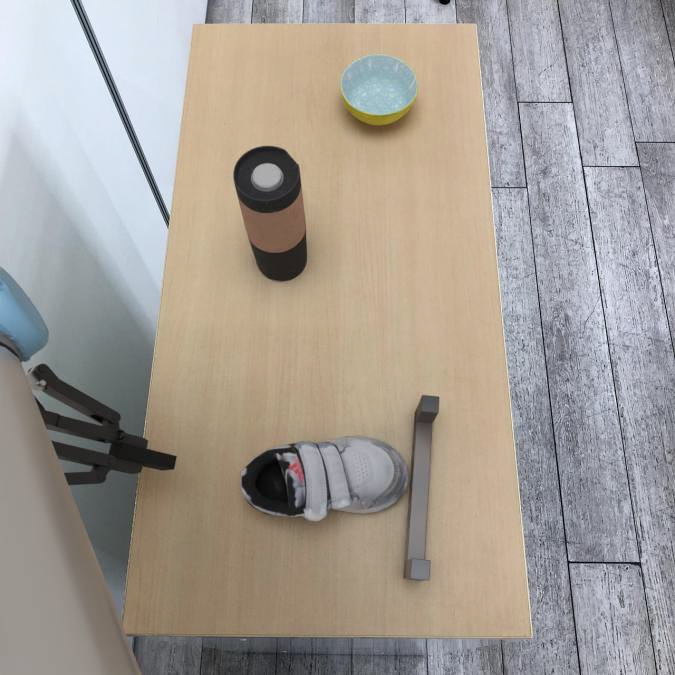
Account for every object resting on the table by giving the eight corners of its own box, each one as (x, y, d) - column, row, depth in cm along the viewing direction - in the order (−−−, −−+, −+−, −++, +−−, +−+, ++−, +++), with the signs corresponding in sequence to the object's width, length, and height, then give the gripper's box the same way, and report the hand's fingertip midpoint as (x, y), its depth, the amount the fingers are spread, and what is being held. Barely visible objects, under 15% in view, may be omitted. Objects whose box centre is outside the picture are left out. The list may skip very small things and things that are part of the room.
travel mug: (250, 279, 87) (225, 197, 69) (260, 232, 90) (239, 140, 71) (304, 286, 87) (294, 205, 68) (313, 238, 90) (305, 148, 71)
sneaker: (411, 518, 76) (421, 509, 66) (248, 533, 75) (235, 526, 66) (400, 433, 79) (408, 413, 70) (245, 447, 79) (232, 429, 69)
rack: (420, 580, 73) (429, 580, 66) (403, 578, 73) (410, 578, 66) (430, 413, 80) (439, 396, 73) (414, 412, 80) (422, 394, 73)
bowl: (396, 153, 95) (399, 125, 89) (327, 126, 97) (326, 97, 91) (425, 99, 99) (430, 69, 93) (358, 74, 100) (360, 43, 95)
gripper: (-53, 345, 60) (164, 410, 75) (-104, 483, 55) (139, 523, 70) (-30, 330, 55) (199, 403, 69) (-84, 481, 50) (174, 524, 65)
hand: (169, 463), depth 70 cm, fingers closed
